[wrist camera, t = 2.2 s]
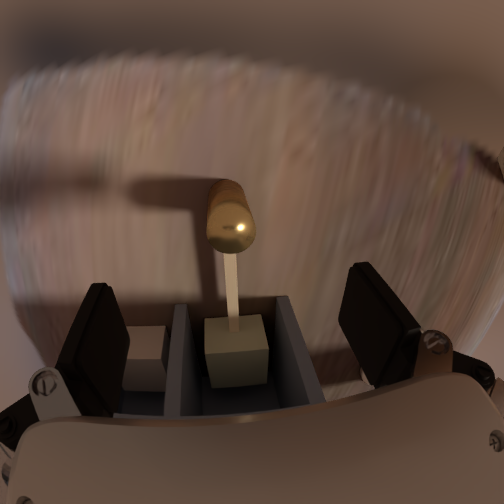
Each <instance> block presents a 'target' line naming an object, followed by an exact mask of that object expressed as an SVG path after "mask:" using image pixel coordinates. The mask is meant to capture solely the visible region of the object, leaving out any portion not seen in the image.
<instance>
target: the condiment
mask: <svg viewBox="0 0 504 504" xmlns="http://www.w3.org/2000/svg"><path fill="white" fill-rule="evenodd" d="M497 160H498V162H499V165H500V168H501V171H502V174H503V178H504V148H503V150H502V151H501V153H500V154H499V156H498V158H497Z"/></svg>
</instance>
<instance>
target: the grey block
mask: <svg viewBox="0 0 504 504" xmlns="http://www.w3.org/2000/svg"><path fill="white" fill-rule="evenodd" d="M126 328H127V331H128V333H129V336H130V346H129V351H128V356H127V361H126V366H125V371H124V376H123V382H122V387H123V389H124V390H126V391H151V392H166V380H167V369H168V360H169V350H170V340H169V337H168V333H167V329H166V326H126Z"/></svg>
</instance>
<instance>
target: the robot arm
mask: <svg viewBox="0 0 504 504" xmlns="http://www.w3.org/2000/svg"><path fill="white" fill-rule="evenodd" d="M338 321H339V325H340V327H341V329H342V331H343V332H344V334H345V336H346V338H347V340H348V342H349V344H350V346H351V348H352V350H353V352H354V354H355V356H356V358H357V360H358V362H359V364H360V366H361V369H360V375H361V378H362V380H363V381H364V382H365V383H366V384H369V385H374V387H375V389H374V390H371V391H367V392H364V393H360V394H356V395H353V396H349V397H345V398H341V399H337V400H333V401H328V402H324V403H319V404H314V405H309V406H304V407H299V408H293V409H288V410H282V411H275V412H268V413H261V414H253V415H244V416H234V417H222V418H208V419H183V420H152V419H124V418H113V415H114V413H116V412H117V411H118V405H119V399H120V393H121V387H122V382H123V376H124V371H125V366H126V361H127V356H128V351H129V346H130V336H129V333H128V331H127V328H126V326H125V323H124V320H123V318H122V315H121V312H120V309H119V307H118V304H117V301H116V298H115V295H114V292H113V289H112V287H111V286H108V285H107V284H106V283H93V284H91V286H90V288H89V290H88V292H87V294H86V296H85V298H84V300H83V302H82V304H81V307H80V309H79V311H78V313H77V315H76V317H75V320H74V322H73V324H72V326H71V329H70V331H69V333H68V336H67V338H66V340H65V343H64V345H63V348H62V350H61V353H60V355H59V358H58V361H57V363H56V366H55V368H52V367H44V368H42V369H39V370H38V371H36V372H35V373H34V374H33V376H32V377H31V379H30V381H29V386H28V388H29V394H27V395H26V396H24V397H23V398H21V399H20V400H18V401H17V402H15V403H14V404H13V405H11V406H9V407H8V408H6V409H5V410H3V411H2V412H1V413H0V504H504V381H503V380H502V379H500V378H497V379H495V375H494V372H493V370H492V368H491V367H490V366H489V365H488V364H487V363H485V362H483V361H481V360H478V359H475V358H472V357H470V356H467V355H464V354H461V353H459V352H456V351H453V344H452V342H451V340H450V338H449V337H448V336H447V335H445V334H444V333H443V332H440V331H438V330H427V331H424V330H423V329H421V326H420V325H419V324H418V322H417V321H416V320H415V319H414V317H413V316H412V315H411V313H410V312H409V311H408V309H407V308H406V307H405V306H404V304H403V303H402V302H401V301H400V299H399V298H398V297H397V296H396V294H395V293H394V292H393V291H392V289H391V288H390V287H389V286H388V284H387V283H386V282H385V281H384V280H383V278H382V277H381V276H380V275H379V274H378V272H377V271H376V270H375V269H374V268H373V267H372V265H371V264H370V263H369V262H359V263H354V265H353V267H350V269H349V273H348V278H347V282H346V287H345V291H344V296H343V300H342V304H341V308H340V312H339V317H338Z"/></svg>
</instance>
